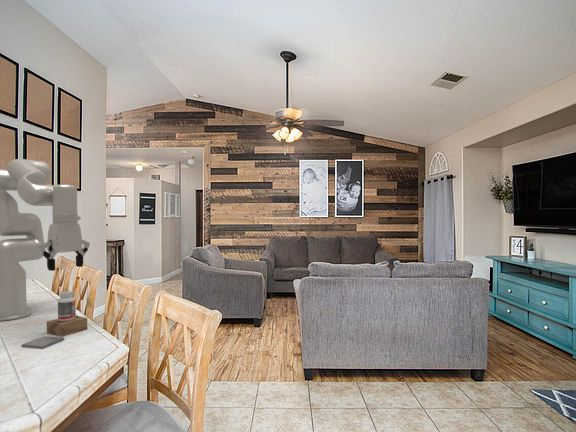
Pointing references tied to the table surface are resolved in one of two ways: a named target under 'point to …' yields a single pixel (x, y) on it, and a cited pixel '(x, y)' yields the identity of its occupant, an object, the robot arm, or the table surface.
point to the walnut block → (66, 326)
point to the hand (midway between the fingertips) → (66, 268)
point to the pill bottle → (66, 306)
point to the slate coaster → (43, 342)
